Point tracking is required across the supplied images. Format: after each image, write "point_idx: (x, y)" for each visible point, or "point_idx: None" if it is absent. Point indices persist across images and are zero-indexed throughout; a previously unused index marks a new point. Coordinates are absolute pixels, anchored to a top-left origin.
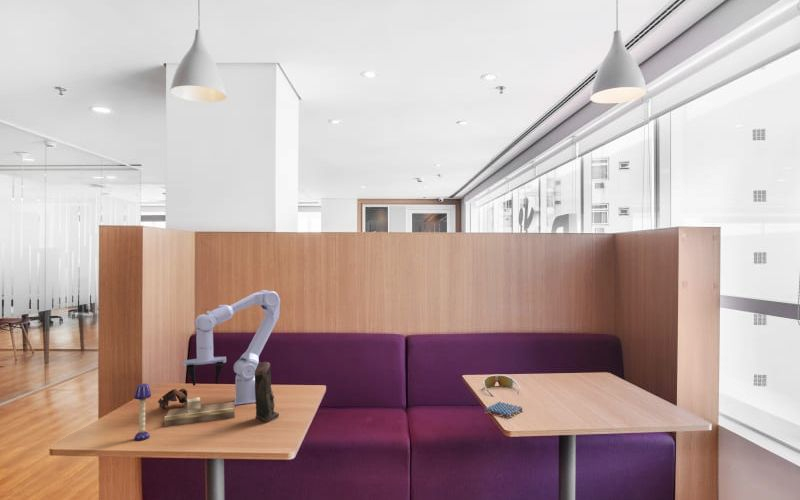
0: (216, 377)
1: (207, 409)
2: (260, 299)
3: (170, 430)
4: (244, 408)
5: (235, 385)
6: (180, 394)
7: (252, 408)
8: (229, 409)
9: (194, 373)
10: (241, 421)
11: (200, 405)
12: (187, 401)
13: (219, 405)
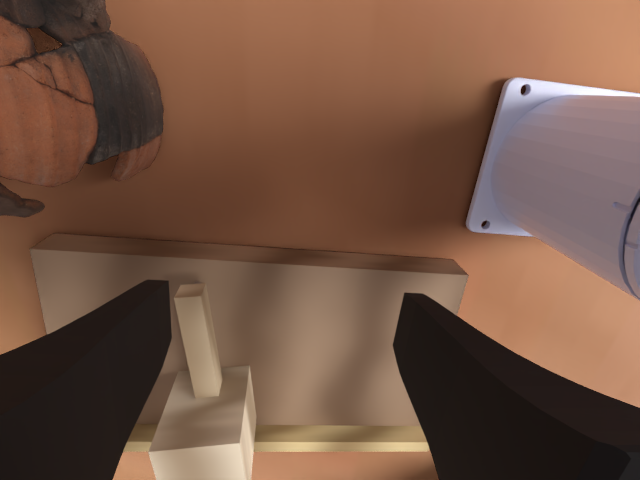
0: (422, 409)
1: (293, 351)
2: None
3: (127, 453)
4: (492, 305)
5: (573, 198)
6: (36, 164)
7: (527, 322)
8: (402, 449)
9: (97, 441)
10: (427, 457)
11: (251, 467)
12: (159, 472)
13: (368, 309)
